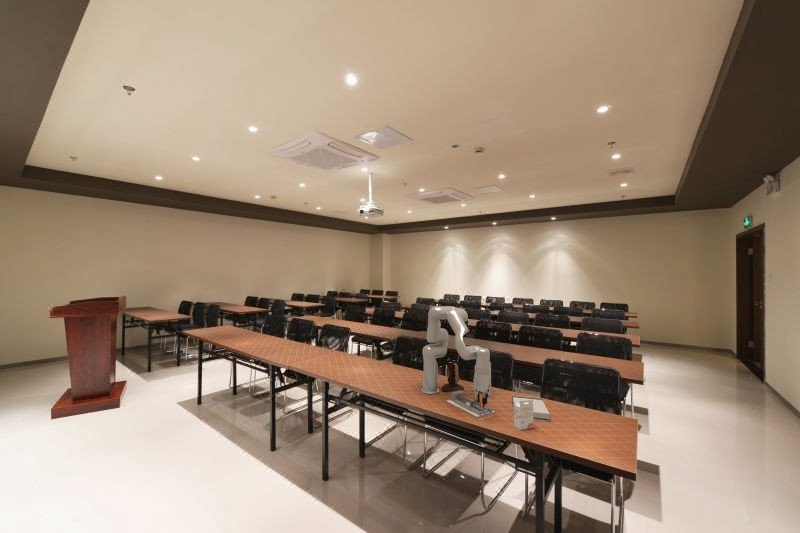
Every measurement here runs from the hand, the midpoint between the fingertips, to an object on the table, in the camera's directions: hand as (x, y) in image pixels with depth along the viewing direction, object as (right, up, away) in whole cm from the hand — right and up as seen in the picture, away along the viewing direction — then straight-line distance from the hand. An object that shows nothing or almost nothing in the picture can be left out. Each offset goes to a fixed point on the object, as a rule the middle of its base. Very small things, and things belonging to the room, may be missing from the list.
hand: (482, 402), depth 192 cm
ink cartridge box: (+18, -7, -15) cm, 25 cm away
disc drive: (+29, -8, +6) cm, 31 cm away
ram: (-1, -5, +2) cm, 5 cm away
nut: (-8, -6, +13) cm, 17 cm away
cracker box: (+8, -8, +33) cm, 35 cm away
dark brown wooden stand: (-10, -8, +40) cm, 42 cm away
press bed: (-5, -7, +9) cm, 12 cm away
